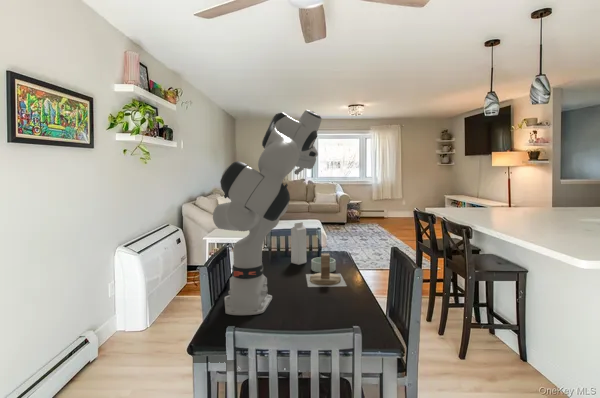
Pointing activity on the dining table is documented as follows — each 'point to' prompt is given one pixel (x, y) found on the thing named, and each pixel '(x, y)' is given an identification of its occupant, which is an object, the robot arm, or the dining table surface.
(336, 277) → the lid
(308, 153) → the robot arm
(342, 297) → the dining table surface
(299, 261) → the milk
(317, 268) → the bowl
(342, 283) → the mat
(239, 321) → the dining table surface
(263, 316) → the dining table surface
